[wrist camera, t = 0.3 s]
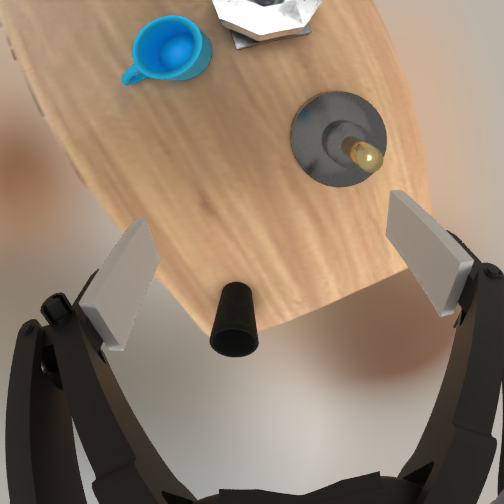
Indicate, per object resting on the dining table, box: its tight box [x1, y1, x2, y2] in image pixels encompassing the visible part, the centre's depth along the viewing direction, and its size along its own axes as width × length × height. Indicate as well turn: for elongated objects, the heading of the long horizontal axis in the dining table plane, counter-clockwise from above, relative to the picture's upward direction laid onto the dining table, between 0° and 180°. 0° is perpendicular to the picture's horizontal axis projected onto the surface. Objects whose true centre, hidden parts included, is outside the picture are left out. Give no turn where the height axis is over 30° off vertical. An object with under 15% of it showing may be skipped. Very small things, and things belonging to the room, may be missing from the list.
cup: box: [210, 282, 259, 357], centre depth 47 cm, size 8×8×12 cm
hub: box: [290, 92, 387, 187], centre depth 31 cm, size 14×14×12 cm
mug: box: [121, 15, 212, 85], centre depth 27 cm, size 12×8×8 cm
